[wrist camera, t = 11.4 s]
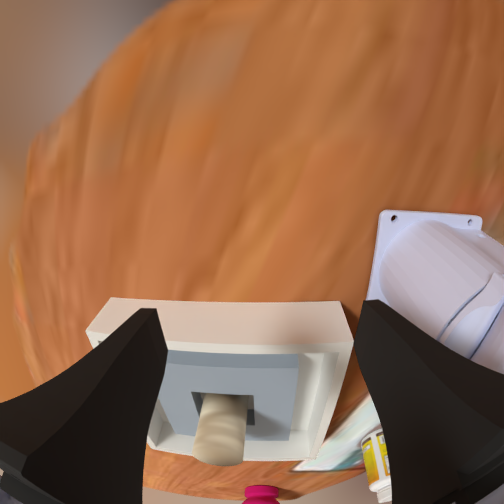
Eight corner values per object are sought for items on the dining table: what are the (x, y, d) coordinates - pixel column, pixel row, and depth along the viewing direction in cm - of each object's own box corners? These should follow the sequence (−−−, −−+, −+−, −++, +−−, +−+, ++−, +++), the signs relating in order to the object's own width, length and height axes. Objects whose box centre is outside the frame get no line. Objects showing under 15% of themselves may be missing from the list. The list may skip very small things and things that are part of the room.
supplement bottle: (368, 447, 30) (378, 506, 21) (354, 437, 29) (365, 503, 19) (403, 432, 29) (419, 490, 19) (393, 420, 27) (411, 486, 18)
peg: (242, 378, 23) (234, 447, 16) (253, 403, 24) (248, 466, 18) (199, 381, 23) (183, 446, 17) (213, 405, 25) (202, 465, 18)
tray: (339, 300, 20) (353, 341, 16) (313, 426, 27) (315, 459, 23) (111, 297, 21) (85, 330, 17) (160, 419, 28) (151, 448, 24)
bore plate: (297, 349, 21) (298, 367, 19) (288, 425, 26) (288, 440, 24) (150, 343, 22) (142, 360, 20) (179, 419, 27) (175, 433, 25)
